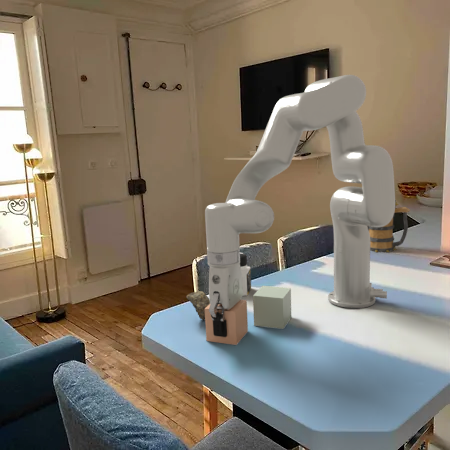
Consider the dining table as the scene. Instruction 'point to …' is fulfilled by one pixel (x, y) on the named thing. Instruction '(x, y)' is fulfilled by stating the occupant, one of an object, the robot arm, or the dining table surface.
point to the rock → (199, 302)
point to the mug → (387, 234)
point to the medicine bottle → (245, 274)
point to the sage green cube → (272, 307)
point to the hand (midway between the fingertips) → (227, 328)
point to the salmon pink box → (229, 323)
